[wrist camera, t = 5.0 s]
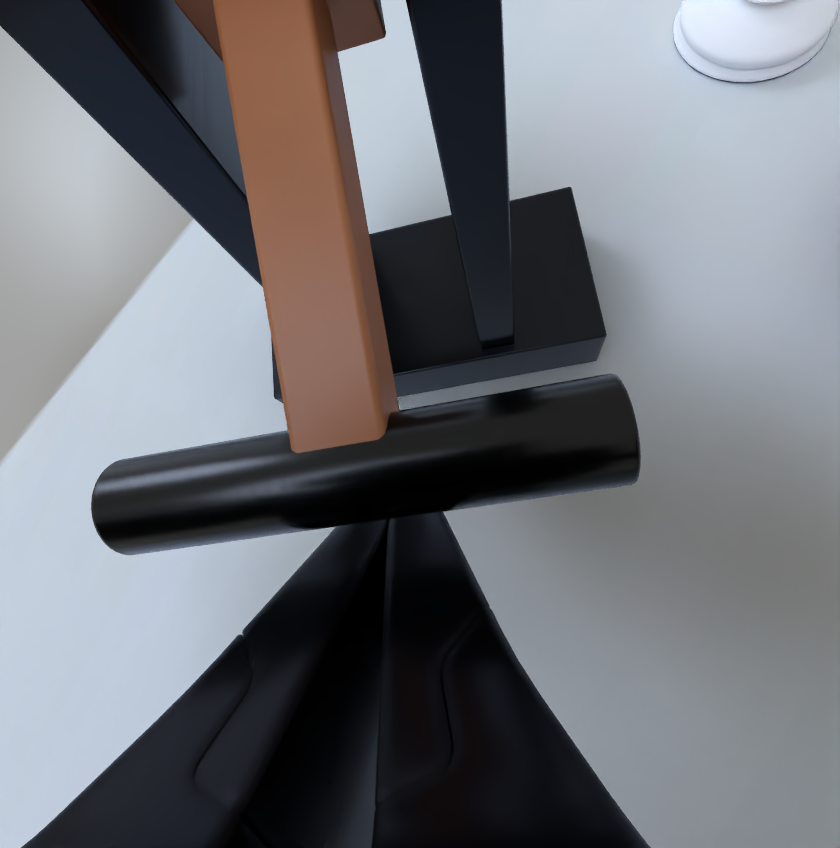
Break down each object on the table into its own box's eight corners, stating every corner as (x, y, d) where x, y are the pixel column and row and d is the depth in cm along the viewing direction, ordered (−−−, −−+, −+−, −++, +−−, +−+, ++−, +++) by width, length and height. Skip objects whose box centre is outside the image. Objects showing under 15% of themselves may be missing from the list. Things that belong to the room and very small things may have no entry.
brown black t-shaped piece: (608, 469, 6) (671, 506, 4) (194, 529, 7) (52, 588, 5) (492, -221, 6) (488, -592, 4) (88, -69, 7) (-109, -296, 5)
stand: (597, 361, 16) (985, -602, 3) (300, 414, 17) (-406, -4, 4) (565, 225, 17) (716, -875, 4) (293, 287, 19) (-265, -341, 5)
